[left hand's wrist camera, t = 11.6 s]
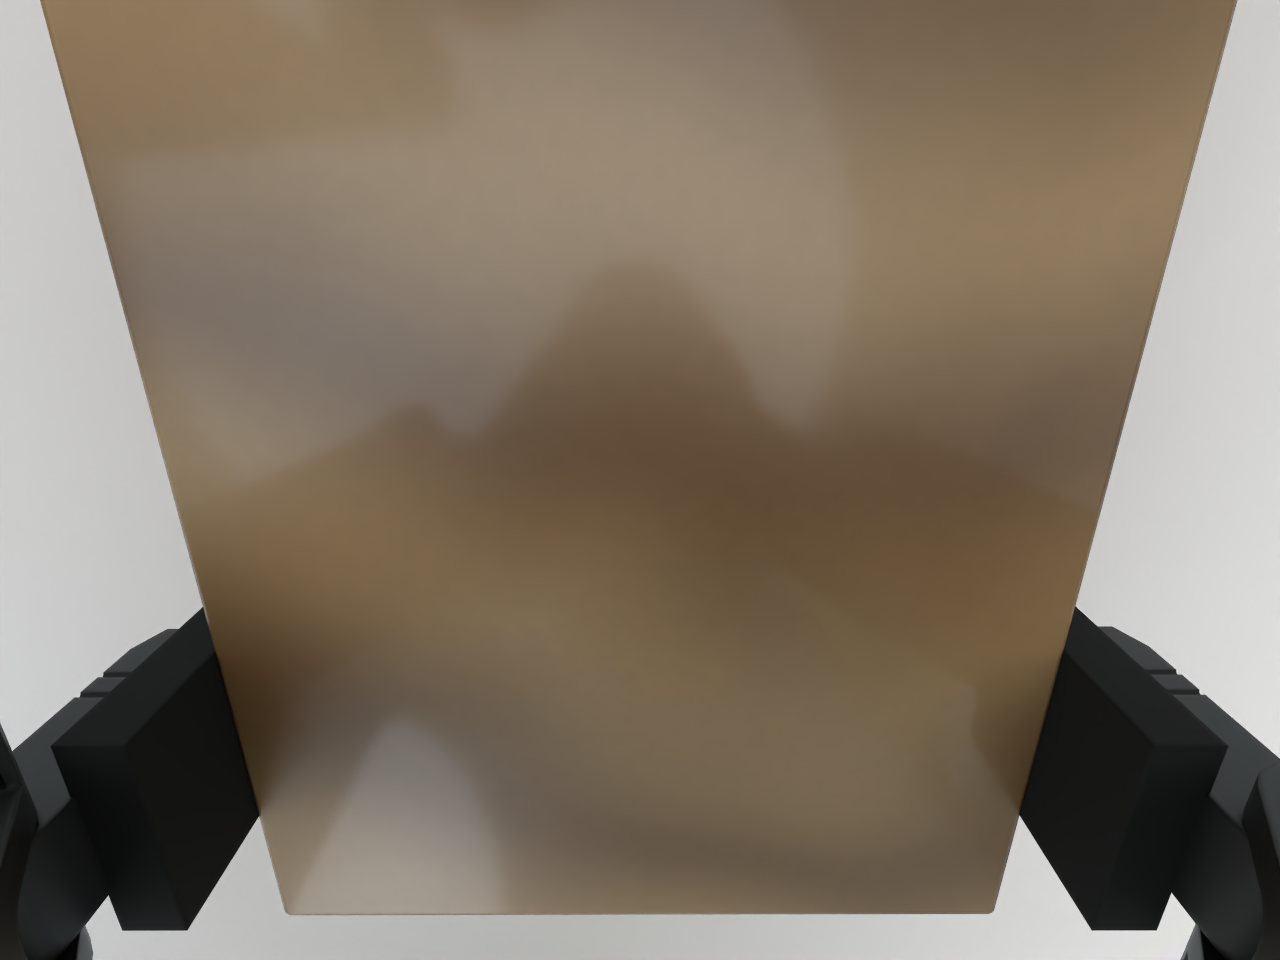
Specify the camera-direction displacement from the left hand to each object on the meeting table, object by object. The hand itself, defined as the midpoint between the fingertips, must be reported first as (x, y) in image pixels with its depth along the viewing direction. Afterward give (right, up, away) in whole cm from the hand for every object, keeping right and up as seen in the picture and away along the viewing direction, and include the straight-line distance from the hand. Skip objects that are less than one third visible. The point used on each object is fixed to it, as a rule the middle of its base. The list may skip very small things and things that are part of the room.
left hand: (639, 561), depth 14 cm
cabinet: (0, +6, +1) cm, 6 cm away
